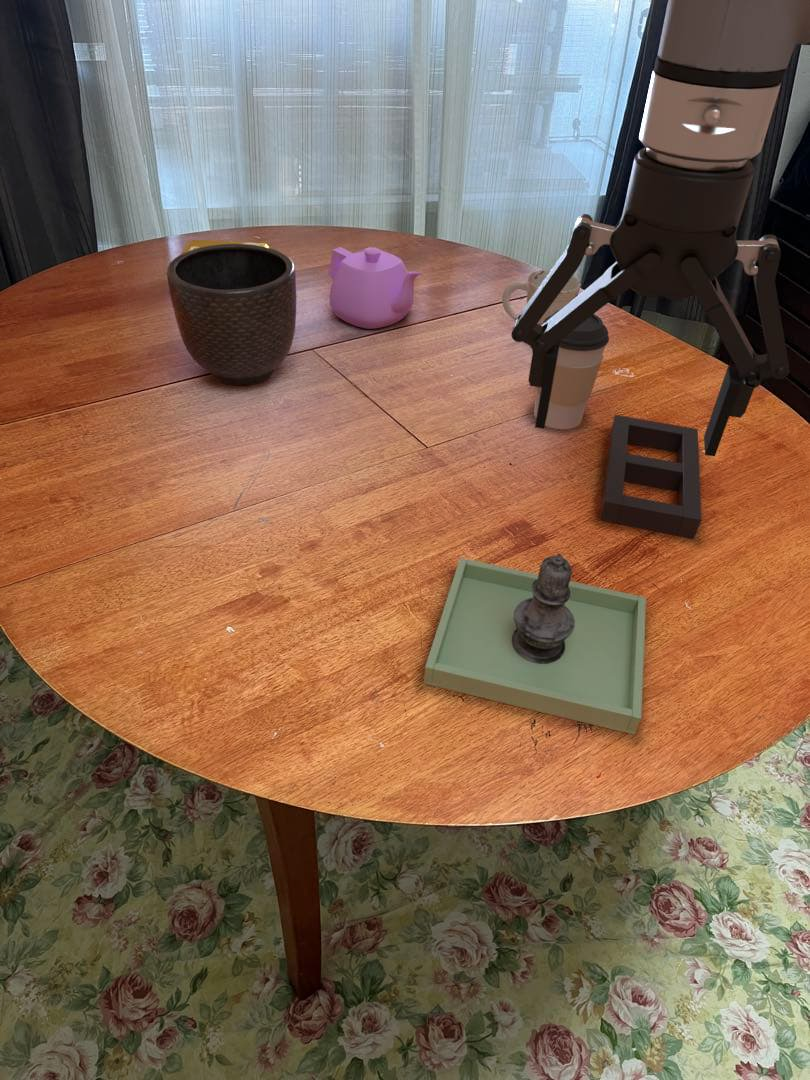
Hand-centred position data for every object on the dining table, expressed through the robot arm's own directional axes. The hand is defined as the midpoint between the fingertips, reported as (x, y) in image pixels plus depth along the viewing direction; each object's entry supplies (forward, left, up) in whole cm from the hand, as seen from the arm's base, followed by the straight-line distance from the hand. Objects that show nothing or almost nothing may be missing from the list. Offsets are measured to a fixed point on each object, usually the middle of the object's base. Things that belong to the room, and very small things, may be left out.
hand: (623, 433), depth 63 cm
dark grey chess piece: (+3, +4, -23) cm, 23 cm away
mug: (+13, -64, -24) cm, 69 cm away
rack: (-7, -28, -23) cm, 37 cm away
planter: (+53, -37, -24) cm, 69 cm away
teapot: (+40, -62, -24) cm, 77 cm away
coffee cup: (+6, -40, -24) cm, 47 cm away
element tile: (+70, -67, -24) cm, 100 cm away
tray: (+3, +4, -23) cm, 24 cm away
